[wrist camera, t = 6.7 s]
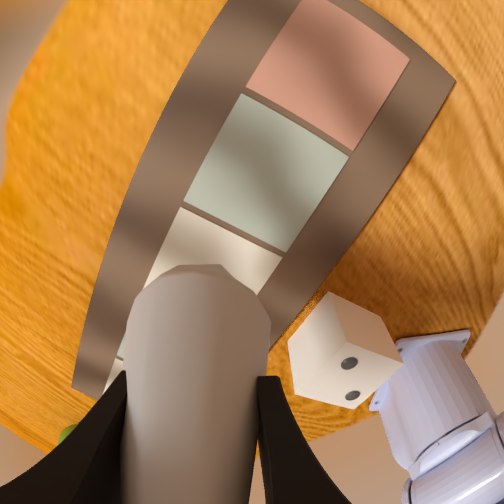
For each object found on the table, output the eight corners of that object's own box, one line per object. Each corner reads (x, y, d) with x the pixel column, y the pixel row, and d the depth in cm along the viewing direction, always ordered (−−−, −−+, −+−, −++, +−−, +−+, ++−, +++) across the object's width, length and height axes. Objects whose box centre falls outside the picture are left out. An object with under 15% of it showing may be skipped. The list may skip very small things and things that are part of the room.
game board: (191, 433, 29) (191, 436, 28) (72, 385, 26) (70, 388, 25) (453, 80, 14) (456, 80, 14) (265, -48, 11) (265, -51, 11)
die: (339, 359, 24) (353, 410, 19) (287, 340, 23) (295, 395, 18) (380, 315, 22) (404, 364, 17) (328, 290, 21) (346, 342, 16)
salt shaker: (132, 243, 13) (6, 574, 2) (267, 241, 13) (336, 623, 2) (153, 343, 16) (112, 594, 4) (263, 343, 16) (292, 606, 5)
